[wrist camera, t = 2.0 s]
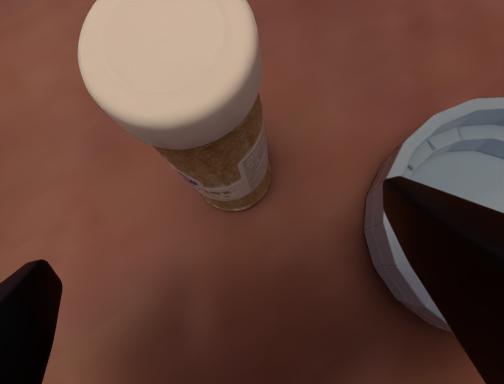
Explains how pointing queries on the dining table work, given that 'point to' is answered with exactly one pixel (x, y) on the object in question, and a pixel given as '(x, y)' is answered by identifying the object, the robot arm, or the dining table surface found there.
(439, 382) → the dining table surface
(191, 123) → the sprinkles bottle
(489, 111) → the bowl
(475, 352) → the robot arm
